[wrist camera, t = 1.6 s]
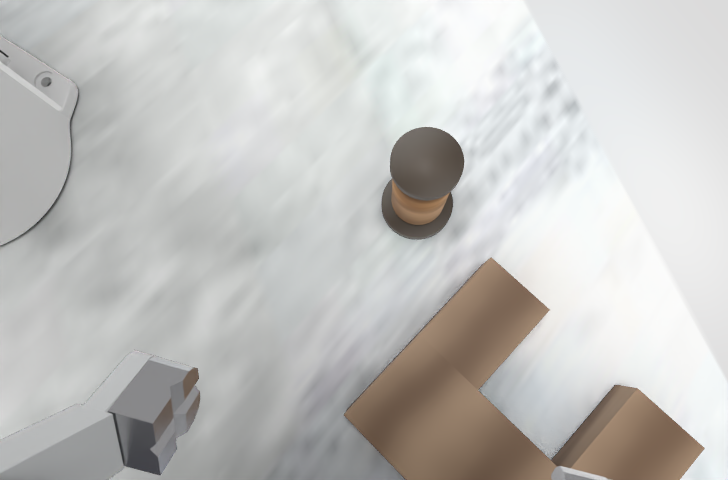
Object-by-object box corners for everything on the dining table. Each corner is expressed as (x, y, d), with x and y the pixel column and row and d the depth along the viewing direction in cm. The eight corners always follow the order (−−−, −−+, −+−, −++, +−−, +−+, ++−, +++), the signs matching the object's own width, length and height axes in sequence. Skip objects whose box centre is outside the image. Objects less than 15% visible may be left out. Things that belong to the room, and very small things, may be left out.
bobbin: (367, 206, 37) (362, 162, 28) (414, 159, 38) (424, 102, 29) (418, 253, 36) (429, 223, 27) (465, 204, 37) (491, 159, 28)
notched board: (347, 409, 34) (343, 415, 31) (482, 264, 36) (491, 257, 33) (539, 607, 31) (555, 634, 28) (675, 439, 33) (704, 448, 30)
